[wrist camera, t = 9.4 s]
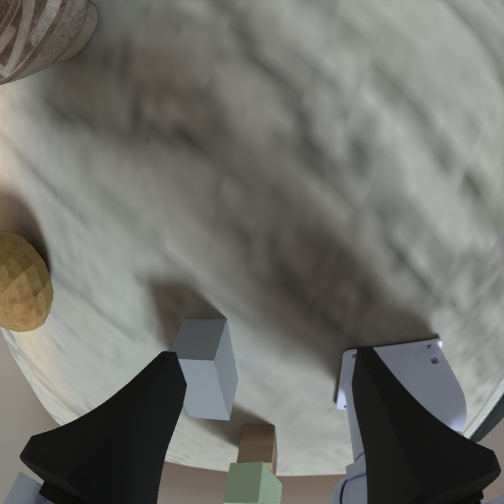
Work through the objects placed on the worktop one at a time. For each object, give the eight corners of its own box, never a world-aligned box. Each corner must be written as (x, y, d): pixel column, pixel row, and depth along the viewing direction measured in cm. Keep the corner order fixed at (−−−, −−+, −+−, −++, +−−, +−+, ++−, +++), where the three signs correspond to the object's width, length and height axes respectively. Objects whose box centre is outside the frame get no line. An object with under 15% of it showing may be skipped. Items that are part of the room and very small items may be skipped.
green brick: (230, 462, 24) (222, 502, 20) (263, 461, 24) (258, 503, 19) (253, 485, 27) (248, 519, 22) (281, 484, 26) (279, 519, 21)
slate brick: (185, 317, 23) (165, 357, 19) (227, 317, 23) (213, 360, 18) (201, 376, 26) (188, 416, 21) (238, 378, 26) (229, 420, 21)
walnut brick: (243, 424, 29) (236, 461, 24) (274, 425, 28) (271, 462, 24) (250, 452, 31) (245, 484, 27) (277, 453, 31) (275, 485, 26)
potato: (-15, 219, 22) (-65, 246, 15) (61, 215, 21) (-5, 252, 14) (6, 296, 26) (-34, 330, 19) (85, 313, 25) (39, 365, 18)
